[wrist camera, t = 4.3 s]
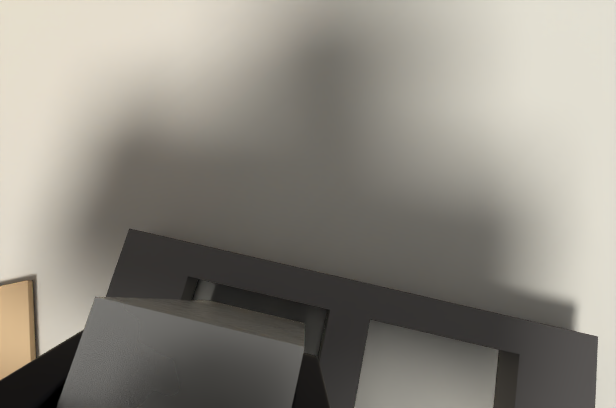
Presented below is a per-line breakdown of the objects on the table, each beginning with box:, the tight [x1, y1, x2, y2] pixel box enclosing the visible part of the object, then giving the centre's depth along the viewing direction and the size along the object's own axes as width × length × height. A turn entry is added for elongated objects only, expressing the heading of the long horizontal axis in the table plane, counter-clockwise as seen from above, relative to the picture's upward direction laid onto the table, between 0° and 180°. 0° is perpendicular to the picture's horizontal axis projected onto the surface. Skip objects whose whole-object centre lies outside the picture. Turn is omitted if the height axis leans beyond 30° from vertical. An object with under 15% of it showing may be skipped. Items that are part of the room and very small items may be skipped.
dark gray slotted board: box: [106, 229, 598, 408], centre depth 15 cm, size 18×8×2 cm, turn 77°
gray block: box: [56, 297, 305, 408], centre depth 11 cm, size 4×4×9 cm
